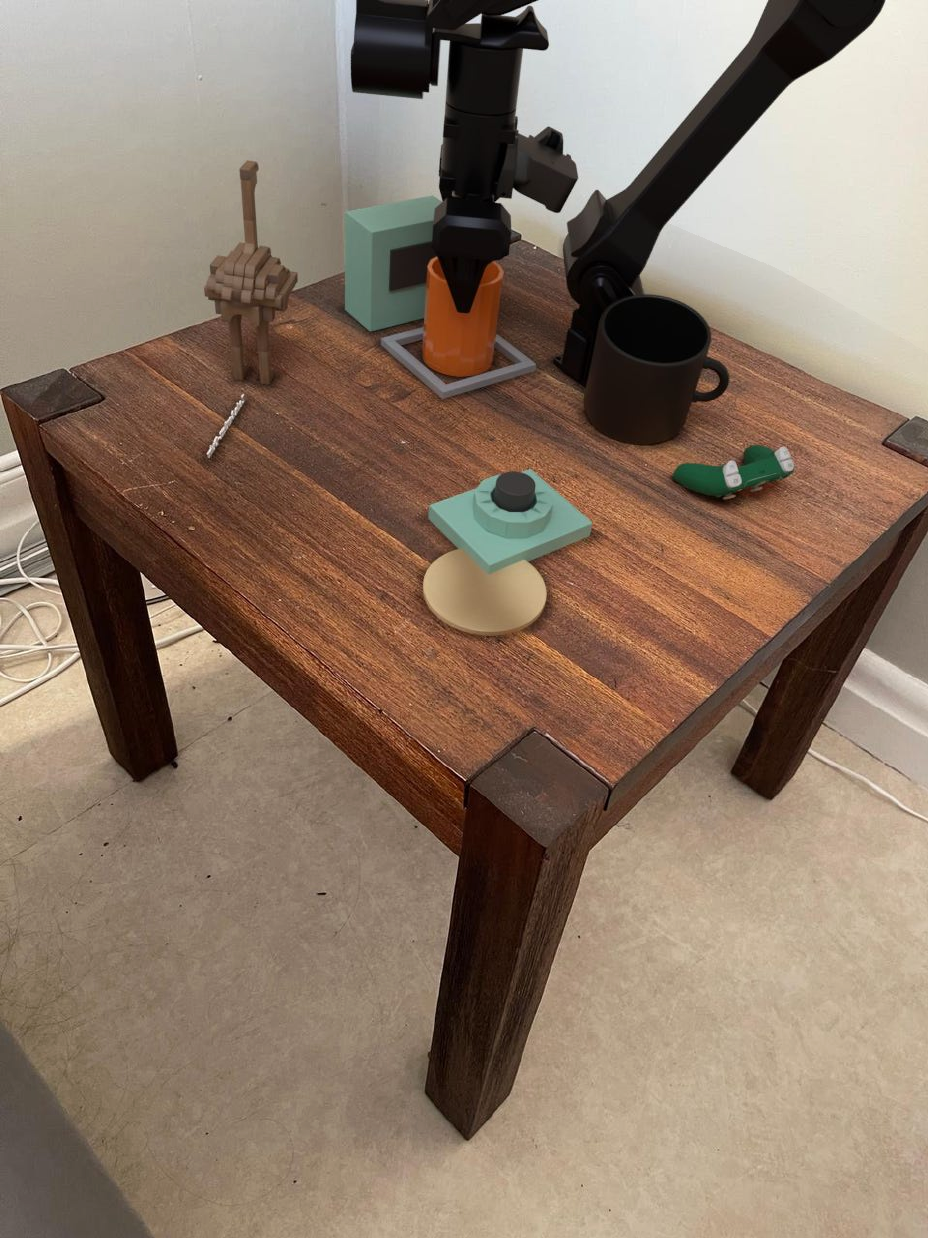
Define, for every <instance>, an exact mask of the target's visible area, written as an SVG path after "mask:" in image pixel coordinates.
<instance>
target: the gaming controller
mask: <svg viewBox="0 0 928 1238" xmlns="http://www.w3.org/2000/svg"><path fill="white" fill-rule="evenodd" d="M742 461H743V464H744V465H741V466H737V462H736V461H735V460H733V459H731V460H728V461H727V462H726V463H724V464H722V465H711V464H703V463H696V462H684V463H680V464H679V465H678V466H676V468H675V469H674V471H673V473H672V476H671V477H672V478H673V480H675V481H676V483H678V484H680V485H681V486H683V487H684V488H687V489H688V490H690V491H693V492H695V493H698V494H702V495H706V496H711V497H713V496H715V498H720V497H722V500H724V501H725V500H729V499H733V498H736V494H735V493H736V492H739V491H742V490H746V489H749V491H750V493H754V492H757V491H761V490H762V489H763V486H762V485H764V484H767V483H773V482H776V481H779V480H784V479H787V478H788V477H789V476H791V475H792V474H794V472H795V463H794V460H793V459H792V455H791V453H790V452H789V449H788V448H787V447H786V446H784V445H783V446H780V447H779V449H775V450H774V449H772V448H770V447H768V446H764V445H761V444H753V445H749V446H748V447H746V448H745V449H744V451H743V453H742ZM750 488H751V489H750Z"/></svg>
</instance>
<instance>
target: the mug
mask: <svg viewBox="0 0 928 1238" xmlns="http://www.w3.org/2000/svg"><path fill="white" fill-rule="evenodd" d="M711 343H712V332H711V328H710V326H709V324H708V322H707V321H706V319H705V318H704V316H702V315H701V313H699V312H698V311H697V310H696V309H695V308H693V307H692V306H690V305H688V304H687V303H685V302H682V301H681V300H678V299H674V298H672V297H669V296H664V295H660V294H650V293H649V294H648V293H647V294H646V293H644V294H640V295H632V296H627V297H624V298H621V299H619V300H616V301H615V302H613V303H612V304H610V305H609V306H608V307H607V308H606V309H605V310H604V312H603V313H602V315H601V318H600V321H599V326H598V331H597V336H596V341H595V346H594V351H593V355H592V360H591V365H590V370H589V375H588V380H587V385H586V387H585V391H584V396H583V407H584V410H585V413H586V416H587V418H588V420H589V422H590V423H591V424H592V425H593V426H594V427H595V428H596V429H597V430H598V431H599V432H601V433H602V434H604V435H606V436H607V437H609V438H611V439H613V440H616V441H619V442H622V443H626V444H630V445H643V446H644V445H654V444H659V443H662V442H665V441H667V440H669V439H672V438H673V437H674V436H676V435H677V434H678V433H679V432H680V431H681V430H682V429H683V427H684V426H685V424H686V422H687V419H688V415H689V412H690V410H691V406H692V403H695V404H696V403H707V402H711V401H714V400H717V399H718V398H720V397H721V396H722V395H724V394H725V392H726V391H727V389H728V387H729V385H730V378H731V377H730V373H729V370H728V368H727V366H725V365H724V364H723V363H722V362H721V361H719V360H717V359H715V358H713V357H711V356H708V353H709V351H710V347H711ZM703 370H710V371H713V372H714V373H716V375H717V376H718V380H719V382H718V385H717V386H716V387H715V388H714V389H712V390H710V391H699V390H697V387H698V384H699V381H700V379H701V375H702V372H703Z"/></svg>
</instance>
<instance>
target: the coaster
mask: <svg viewBox="0 0 928 1238" xmlns="http://www.w3.org/2000/svg"><path fill="white" fill-rule="evenodd" d="M545 583H546V582H545V580H544V579H543V576H542V575H541V573H540V572H539V571H538V570H537V569H536V568H535V566H533V565H532V564H531V563H530V561H528V562H527V561H526V560H522V561H519V562H517V563H514V564H512V565H509V566H507V567H505V568H502V569H500V570H497V571H495V572H493V573H490V574H487V573H486V572H485V571H484V570H483V569H482V568H481V567H480V565H479V564H478V563H477V562H476V561H475V560H474V559H473V558H472V557H471V556H470V555H469V554H468V553H467V552H466V551H465V550H464V549H463V548H461V549H458V548H456V549H453V550H450V551H449V552H446V553H443V555H440V556H439V557H437V559H435V560H434V561H433V562H432V563H431V564H430V565H429V567H427V570H426V571H425V574H424V577H423V581H422V593H423V598H424V601H425V603H426V605H427V606H428V609H430V611H431V612H432V613H433V614H434V615H435V617H436V618H438V619H439V620H440V621H442V622H443V623H445V624H446V625H448V626H449V627H452V628H453V629H456V630H458V631H462V632H464V633H467V634H472V635H477V636H487V637H488V636H489V637H492V636H493V637H495V636H503V635H504V636H505V635H510V634H513V633H517V632H519V631H522V630H523V629H526V628H527V627H529V626H531V625H532V624H534V623H535V622H536V620H538V619H539V618H540V616H541V615H542V613H543V612H544V610H545V607H546V603H547V595H548V593H547V586H546V584H545Z"/></svg>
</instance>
